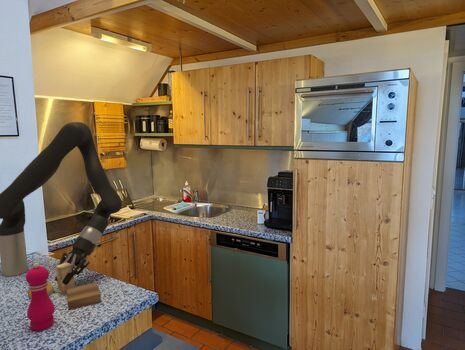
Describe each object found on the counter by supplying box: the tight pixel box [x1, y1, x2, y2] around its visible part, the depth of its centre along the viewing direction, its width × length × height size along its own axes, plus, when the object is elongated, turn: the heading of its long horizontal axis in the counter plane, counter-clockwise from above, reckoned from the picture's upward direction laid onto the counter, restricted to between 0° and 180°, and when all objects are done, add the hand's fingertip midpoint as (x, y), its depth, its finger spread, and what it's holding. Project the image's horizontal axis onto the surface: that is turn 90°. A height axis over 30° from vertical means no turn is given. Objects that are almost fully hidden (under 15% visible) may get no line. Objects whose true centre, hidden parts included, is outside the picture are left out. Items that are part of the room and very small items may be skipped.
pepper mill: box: [25, 262, 56, 332], centre depth 100 cm, size 7×7×20 cm
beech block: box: [55, 262, 76, 295], centre depth 122 cm, size 4×4×10 cm
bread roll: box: [27, 281, 55, 299], centre depth 121 cm, size 8×9×4 cm
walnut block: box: [66, 281, 102, 311], centre depth 116 cm, size 10×10×3 cm
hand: (60, 282), depth 120 cm, fingers closed on beech block, 4 cm apart
